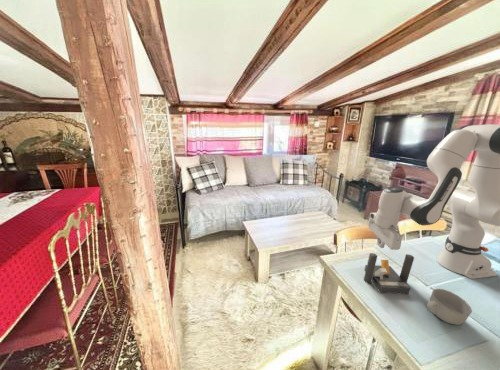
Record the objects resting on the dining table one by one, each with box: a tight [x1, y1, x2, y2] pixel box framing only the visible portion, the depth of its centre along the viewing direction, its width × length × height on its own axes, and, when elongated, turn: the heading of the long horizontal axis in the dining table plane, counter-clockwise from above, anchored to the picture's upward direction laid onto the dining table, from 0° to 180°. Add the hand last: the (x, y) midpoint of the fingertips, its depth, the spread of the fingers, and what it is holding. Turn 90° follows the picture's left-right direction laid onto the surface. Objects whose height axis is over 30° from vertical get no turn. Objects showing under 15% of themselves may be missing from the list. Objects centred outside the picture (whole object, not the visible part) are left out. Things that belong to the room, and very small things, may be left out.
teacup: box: [426, 288, 473, 326], centre depth 76 cm, size 14×11×8 cm
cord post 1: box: [363, 252, 378, 284], centre depth 92 cm, size 3×3×14 cm
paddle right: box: [374, 268, 387, 277], centre depth 90 cm, size 2×2×7 cm
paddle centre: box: [380, 259, 390, 275], centre depth 94 cm, size 2×2×7 cm
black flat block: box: [364, 264, 411, 295], centre depth 93 cm, size 12×14×3 cm
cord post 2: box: [399, 254, 415, 284], centre depth 91 cm, size 3×3×14 cm
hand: (380, 246), depth 98 cm, fingers closed
